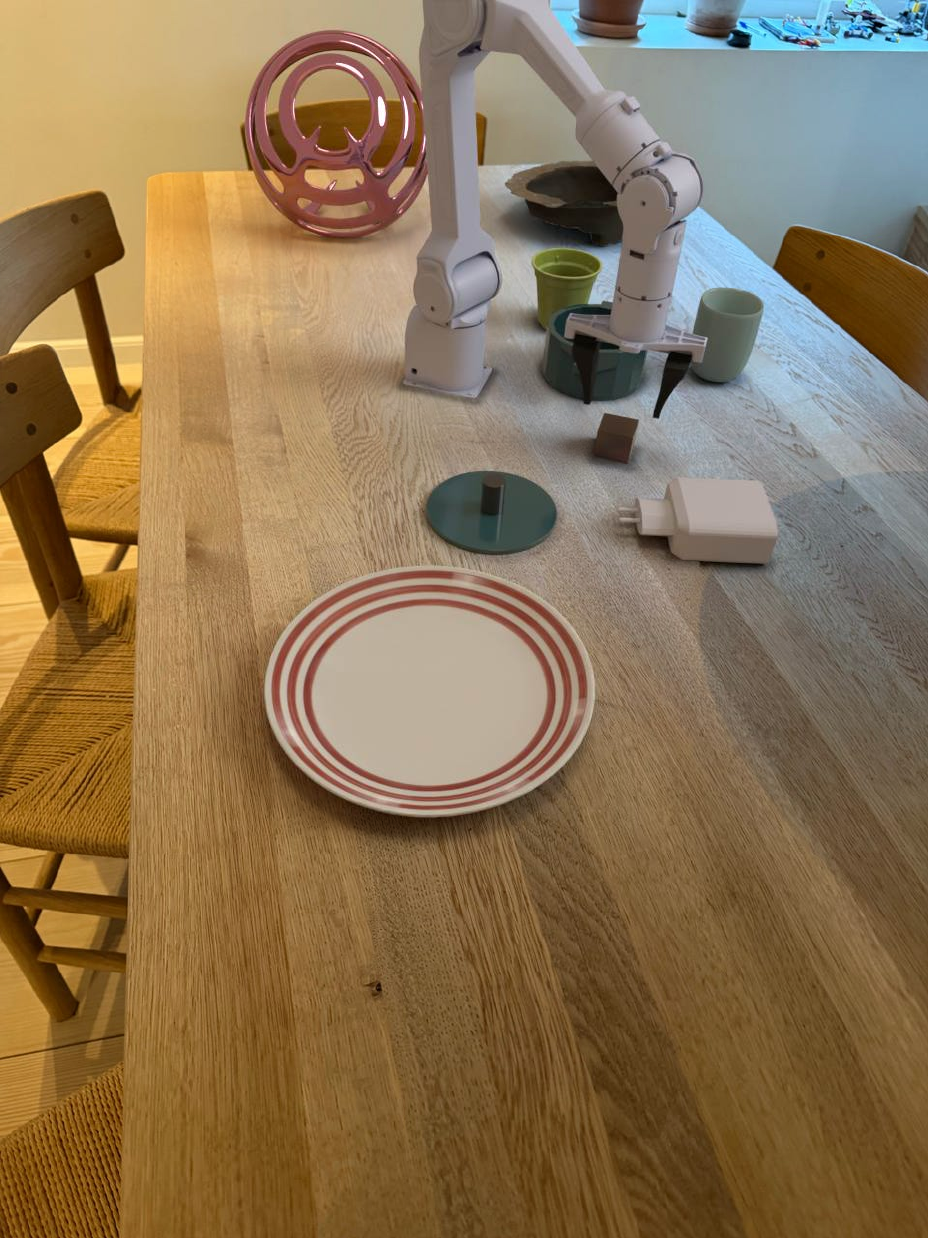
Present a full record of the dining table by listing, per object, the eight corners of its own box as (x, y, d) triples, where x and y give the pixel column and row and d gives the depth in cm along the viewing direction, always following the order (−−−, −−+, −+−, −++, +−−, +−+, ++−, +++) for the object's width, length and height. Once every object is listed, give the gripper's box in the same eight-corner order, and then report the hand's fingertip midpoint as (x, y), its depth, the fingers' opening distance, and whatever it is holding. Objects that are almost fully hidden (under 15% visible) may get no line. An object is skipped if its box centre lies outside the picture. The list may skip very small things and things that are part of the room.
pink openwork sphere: (288, 47, 154) (261, -37, 127) (452, 108, 157) (460, 38, 130) (240, 220, 158) (204, 174, 132) (401, 277, 161) (398, 243, 135)
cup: (744, 393, 121) (765, 319, 114) (682, 384, 122) (699, 310, 115) (744, 363, 126) (764, 291, 119) (684, 355, 127) (701, 283, 120)
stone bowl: (666, 258, 149) (674, 197, 142) (506, 262, 149) (506, 201, 143) (647, 195, 166) (653, 139, 160) (503, 199, 167) (503, 143, 160)
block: (592, 460, 108) (597, 430, 106) (599, 442, 111) (604, 412, 108) (627, 468, 108) (633, 437, 105) (633, 449, 110) (639, 419, 108)
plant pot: (516, 330, 130) (521, 268, 124) (538, 302, 136) (544, 242, 130) (581, 345, 128) (590, 283, 122) (601, 316, 134) (610, 255, 128)
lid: (408, 541, 97) (408, 504, 93) (449, 468, 106) (450, 431, 103) (538, 571, 94) (543, 534, 91) (568, 494, 104) (573, 457, 100)
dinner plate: (484, 899, 68) (487, 874, 66) (197, 731, 78) (191, 704, 76) (642, 667, 85) (649, 641, 83) (391, 553, 95) (391, 527, 93)
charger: (610, 506, 102) (748, 512, 103) (619, 562, 96) (767, 568, 96) (617, 469, 99) (760, 476, 100) (626, 525, 93) (780, 531, 93)
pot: (526, 399, 117) (531, 351, 113) (559, 334, 130) (565, 288, 125) (627, 419, 115) (637, 371, 110) (651, 351, 128) (660, 305, 123)
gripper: (564, 292, 94) (549, 412, 104) (712, 318, 92) (683, 438, 101) (579, 264, 99) (564, 380, 108) (719, 287, 96) (691, 405, 106)
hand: (622, 406), depth 105 cm, fingers open, 7 cm apart
